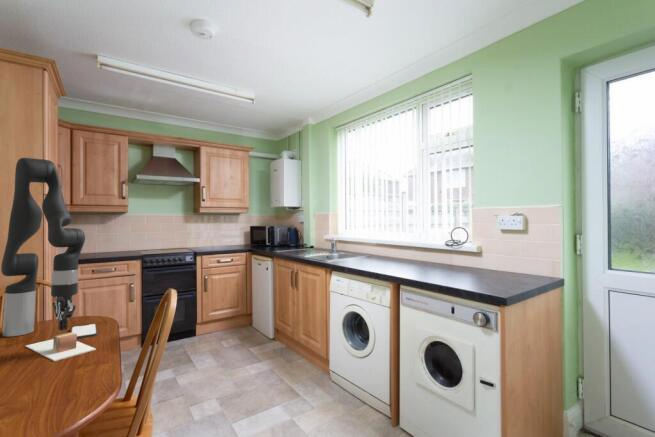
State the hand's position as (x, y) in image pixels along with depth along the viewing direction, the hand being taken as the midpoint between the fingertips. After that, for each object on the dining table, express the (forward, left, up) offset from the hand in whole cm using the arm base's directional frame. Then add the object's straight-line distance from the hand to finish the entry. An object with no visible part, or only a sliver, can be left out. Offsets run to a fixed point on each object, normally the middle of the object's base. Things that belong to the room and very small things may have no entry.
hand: (62, 329), depth 114 cm
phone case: (-14, +13, -8) cm, 21 cm away
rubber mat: (-1, 0, -7) cm, 7 cm away
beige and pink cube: (0, 0, -4) cm, 4 cm away
